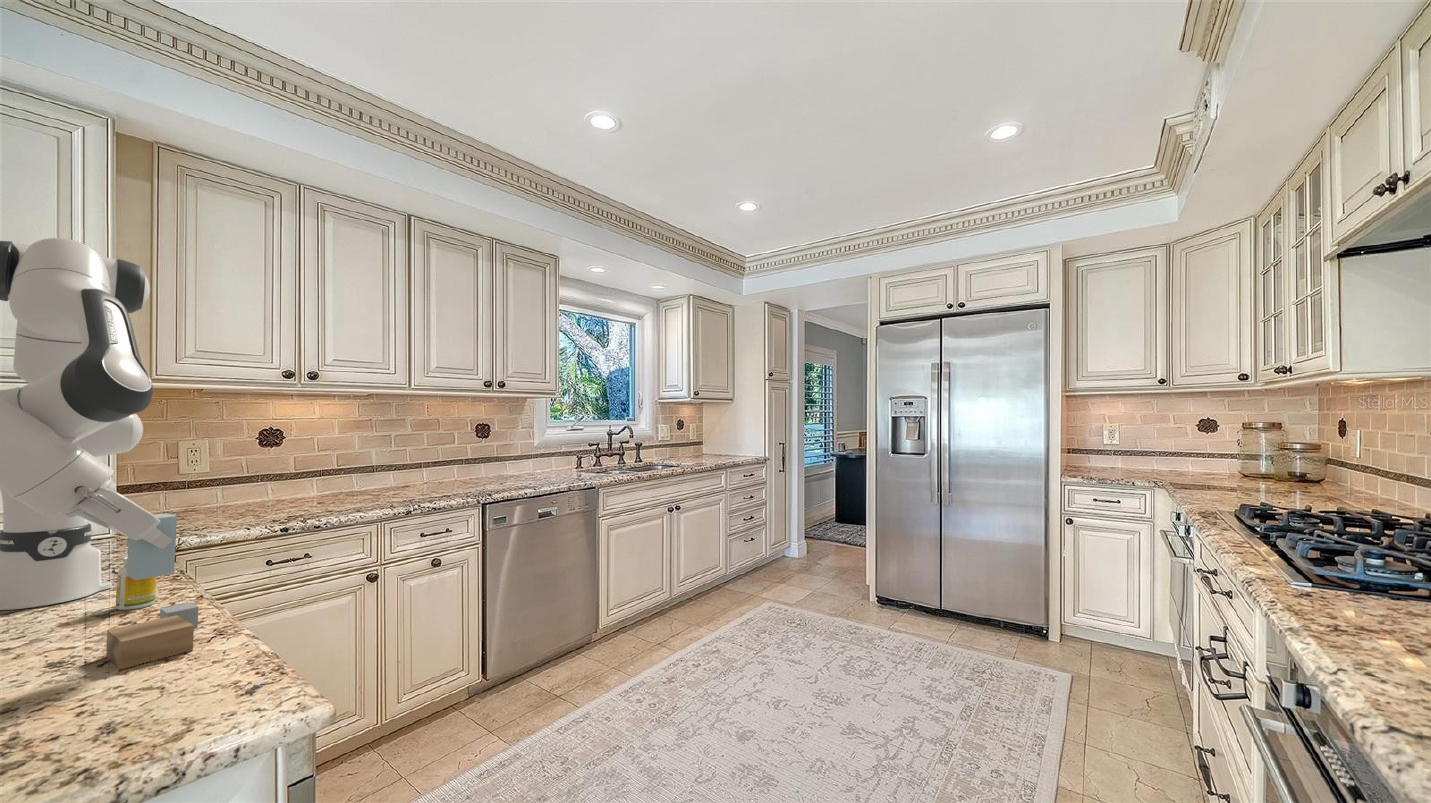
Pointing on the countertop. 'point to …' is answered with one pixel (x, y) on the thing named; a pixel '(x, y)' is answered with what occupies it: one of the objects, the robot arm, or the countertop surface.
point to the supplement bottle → (134, 591)
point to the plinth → (149, 641)
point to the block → (182, 612)
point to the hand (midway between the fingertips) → (160, 542)
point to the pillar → (153, 553)
